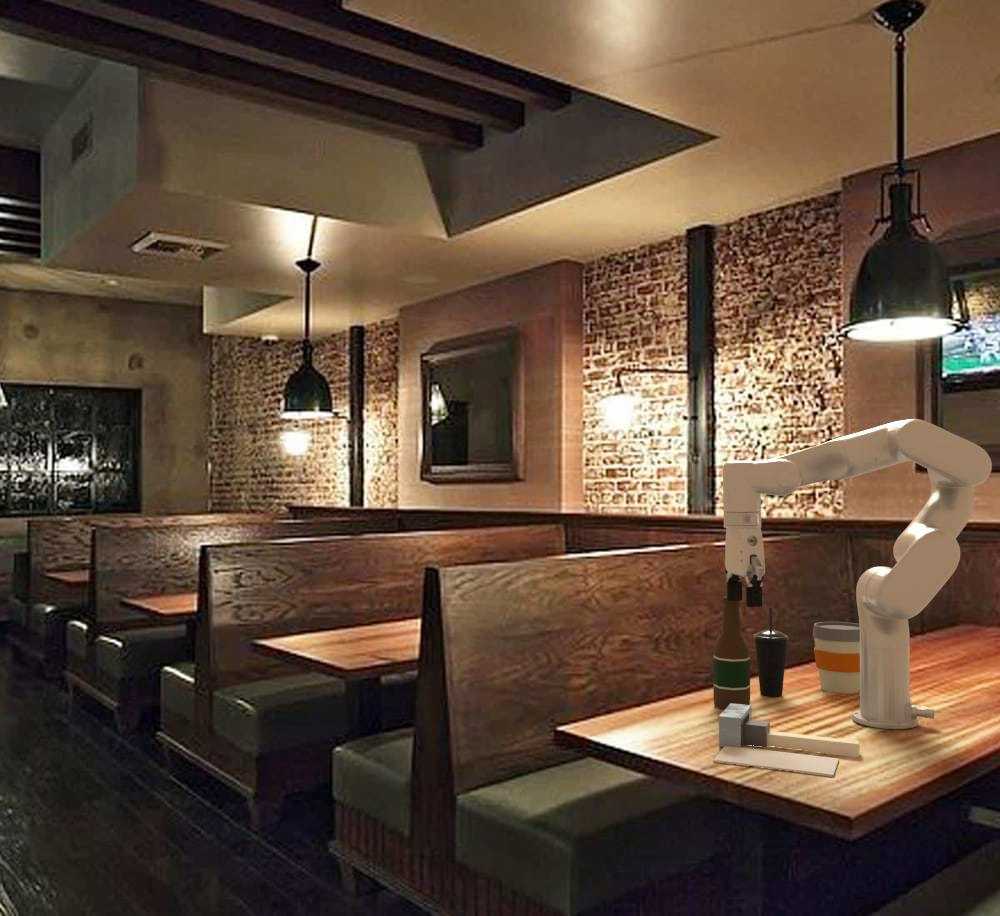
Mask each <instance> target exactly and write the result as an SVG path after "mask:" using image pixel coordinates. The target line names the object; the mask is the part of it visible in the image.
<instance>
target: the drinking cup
mask: <svg viewBox="0 0 1000 916" xmlns="http://www.w3.org/2000/svg"><path fill="white" fill-rule="evenodd" d="M768 610H769V611H768V613H769V614H768V619H769V620H768V621H769V622H768V626H769V627H768V629H765V630H761V631H758V632H757V633H754V634H753V638H754V643H755V651H756V662H757V663H756V664H757V672H758V673H757V674H758V684H759V693H760V694H759V695H760V696H762V697H766V698H781V697H782V696H783V689H784V677H785V666H786V651H787V643H788V640H789V636H788V635H787V634H785V633H783V632H781V631H779V630H775V629H773V607H768Z"/></svg>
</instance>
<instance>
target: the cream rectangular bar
mask: <svg viewBox="0 0 1000 916" xmlns="http://www.w3.org/2000/svg"><path fill="white" fill-rule="evenodd" d="M770 722H771V721H769V720H760V719H759V720H758V719H752V720H751V719H745V720H744V722H743V746H745V745H752V746H751V747H754V746H762V747H767V746H775V747H782V748H792V749H801V750H807V751H814V752H813V753H816V752H820V753H819V754H824V753H826V754H827V755H834V756H841V755H843V757H851V758H860V752H861V751H860V749H861V747H860V746H861V745H860V740H855V739H846V738H837V737H829V736H820V735H819V736H818V735H812V734H811V735H810V734H799V733H789V732H781V731H775V730H774V731H772V730H771V723H770ZM753 745H754V746H753ZM762 747H761V748H762ZM767 748H768V747H767ZM807 751H806V752H807Z"/></svg>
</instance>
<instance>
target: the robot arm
mask: <svg viewBox="0 0 1000 916" xmlns="http://www.w3.org/2000/svg"><path fill="white" fill-rule="evenodd" d="M906 462H913V463H916V464H918V465H920V466H922V467H923V468H925V469H927V473H928V477H929V481H930V485H931V486H930V487H931V490H930V495H929V498H928V500H927V502H926V503H925V504H924V506H923V507H922V508H921V510H920V511H919V513H918V514H917V515H916V516H915V517H914V519H912V521H911V522H910V523H909V525H907V527H906V528H905V529H904V530H903V532H902V533H900V535H899V536H898V537H897V539H896V540H895V542H894V544H893V550H892V554H893V557H894V559H895V561H896V563H895V564H894V566H893V567H888V566H874V567H870V568H868V569H866V570H865V571H864V572H863V573H862V574H861V576H860V577H859V578H858V581H857V583H856V590H855V596H856V597H855V598H856V605H857V606H856V607H857V613H858V614H857V615H858V624H859V628H860V692H859V709H858V710H855V711H853V712H852V713H851V720H852V721H854V723H855V722H856V723H858V724H860V725H863V726H867V727H871V728H878V729H887V730H907V729H912V728H915V727H918V725H919V718H925V719H933V720H934V719H935V709H934V708H929V707H928V706H918V705H916V704H913V699H912V698H911V686H910V685H911V683H910V682H911V681H910V680H911V679H910V677H911V673H910V672H911V670H910V669H911V668H910V667H911V663H910V660H911V659H910V658H911V657H910V652H911V651H910V649H911V648H910V646H911V644H910V641H911V640H910V639H911V638H910V626H909V619H911V618H912V619H913V617H915V616H917V615H918V614H919V613H921V612H922V611H923V610H924V609H925V608H926V607H927V605H928V604H929V603H930V602H931V601H932V600H933V598H934V597H936V595H937V594H938V593H939V591H940V590H941V589H942V588H943V587H944V585H945V584H946V583H947V581H948V580H949V579H950V578H951V577H952V575H953V574H954V573H955V571H956V570H957V568H958V565H959V562H960V559H961V547H960V545H959V542H958V540H957V538H958V536H959V535H960V533H962V531H963V529H964V528H965V527H966V526H967V524H968V522H969V520H970V519H971V518H972V517H971V516H972V515H973V513H974V512H973V511H974V508H975V507H974V506H975V505H974V504H975V493H974V491H975V490H974V487H977V486H979V485H981V484H983V483H985V482H986V481H987V479H988V478H989V477H990V475H991V472H992V467H993V464H992V459H991V457H990V456H989V454H988V453H987V451H986V450H985V449H984V448H982V447H981V446H980V445H978V444H976V443H975V442H972V441H970V440H968V439H966V438H963V437H961V436H959V435H957V434H954V433H952V432H951V431H947V430H945V429H944V428H942V427H939V426H937V425H935V424H933V423H930V422H928V421H926V420H924V419H919V418H910V419H903V420H897V421H893V422H889V423H886V424H882V425H879V426H876V427H873V428H869V429H866V430H862V431H859V432H855V433H852V434H848V435H845V436H842V437H838V438H834V439H832V440H829V441H826V442H823V443H820V444H818V445H816V446H811V447H807V448H804V449H801V450H797V451H794V452H791V453H788V454H784V455H780V456H777V457H773V458H770V459H767V460H764V461H754V460H732V461H727V462H725V463H724V465H723V466H722V491H723V492H722V495H723V496H722V498H723V499H722V500H723V505H722V506H723V528H724V529H726V530H725V547H724V548H725V549H724V551H725V553H724V558H725V559H724V561H723V563H724V566H725V574H726V577H725V580H726V596H727V600H728V601H740V602H741V601H743V581H741V579H742V577H743V578H745V579H744V580H745V582H746V584H747V586H745V603H746V604H745V605H746V607H747V608H762V606H763V585H764V583H763V581H764V578H765V577H764V575H765V574H766V563H765V562H766V561H765V548H764V547H765V546H764V539H763V533H762V529H761V528H762V498H761V497H762V496H761V495H769V496H780V497H784V496H789V495H791V494H793V493H794V492H796V491H797V490H798V489H799V488H801V487H803V486H808V485H812V484H815V483H821V482H827V481H841V480H846V479H850V478H851V479H852V478H855V477H859V476H861V475H865V474H868V473H872V472H875V471H879V470H881V469H886V468H889V467H893V466H896V465H899V464H903V463H906Z"/></svg>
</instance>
